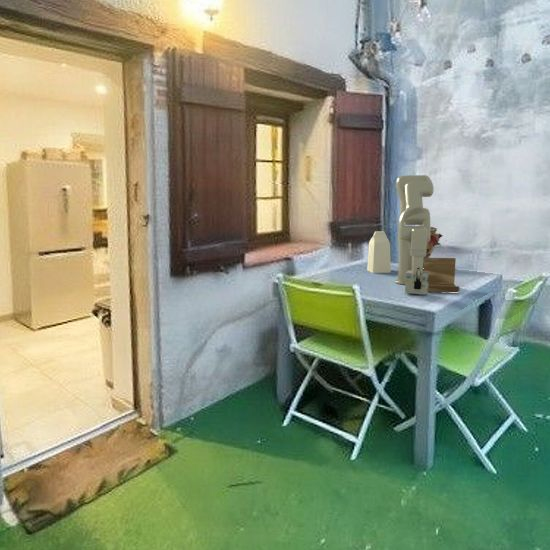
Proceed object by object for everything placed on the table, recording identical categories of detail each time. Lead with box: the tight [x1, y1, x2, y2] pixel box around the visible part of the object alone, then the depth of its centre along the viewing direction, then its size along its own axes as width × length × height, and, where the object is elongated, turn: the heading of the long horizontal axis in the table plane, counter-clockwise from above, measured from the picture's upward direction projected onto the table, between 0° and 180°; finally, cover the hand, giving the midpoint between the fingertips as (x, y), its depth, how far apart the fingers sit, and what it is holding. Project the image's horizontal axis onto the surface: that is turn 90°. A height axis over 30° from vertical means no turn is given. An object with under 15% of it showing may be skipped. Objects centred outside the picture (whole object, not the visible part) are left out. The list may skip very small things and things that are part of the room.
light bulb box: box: [404, 270, 429, 296], centre depth 236 cm, size 11×7×11 cm, turn 65°
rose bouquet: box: [418, 225, 443, 268], centre depth 309 cm, size 26×29×30 cm
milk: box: [366, 230, 392, 274], centre depth 302 cm, size 12×12×26 cm
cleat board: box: [423, 257, 460, 292], centre depth 245 cm, size 16×16×16 cm
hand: (416, 286), depth 236 cm, fingers closed on light bulb box, 7 cm apart
